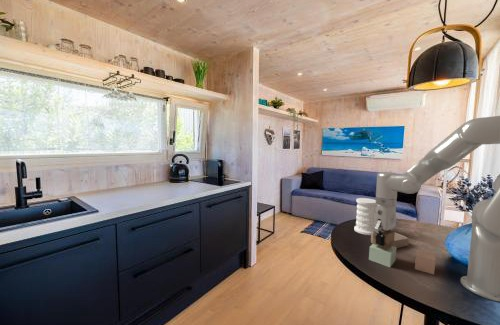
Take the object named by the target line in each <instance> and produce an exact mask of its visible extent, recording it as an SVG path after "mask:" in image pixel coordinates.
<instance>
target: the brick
mask: <svg viewBox="0 0 500 325" xmlns="http://www.w3.org/2000/svg"><path fill="white" fill-rule="evenodd" d="M370 242H371V245H372V244H373V235H370ZM409 245H410V244H409V238H408V237H407V236H405V235H403V234H402V233H401V234H400V233H398V232H395V237H394V245H393V246H394V247H396V249H398V248H403V247H407V246H409Z"/></svg>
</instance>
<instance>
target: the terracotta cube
mask: <svg viewBox="0 0 500 325" xmlns="http://www.w3.org/2000/svg"><path fill="white" fill-rule="evenodd" d="M415 251H416V252H415V260H414V261H415V262H414V263H415V264H414V270H417V271H420V272H424V273H427V274H430V275H435V268H436V253H433V252H429V251H425V250H420V249H416V250H415Z"/></svg>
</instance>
